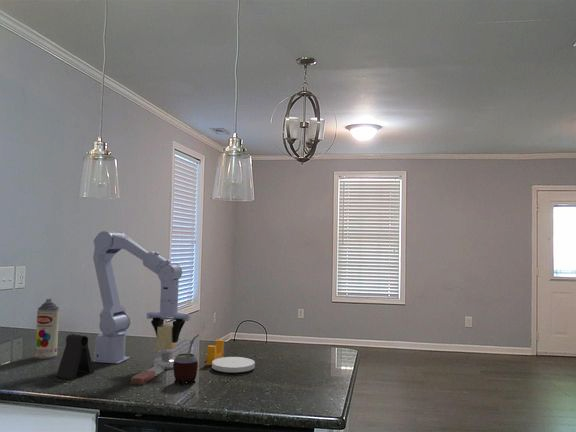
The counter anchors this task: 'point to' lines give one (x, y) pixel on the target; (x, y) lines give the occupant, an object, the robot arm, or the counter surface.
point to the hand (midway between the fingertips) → (167, 341)
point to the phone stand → (75, 358)
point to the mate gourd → (186, 366)
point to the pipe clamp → (215, 351)
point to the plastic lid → (233, 364)
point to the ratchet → (155, 368)
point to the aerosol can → (47, 331)
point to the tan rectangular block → (165, 336)
